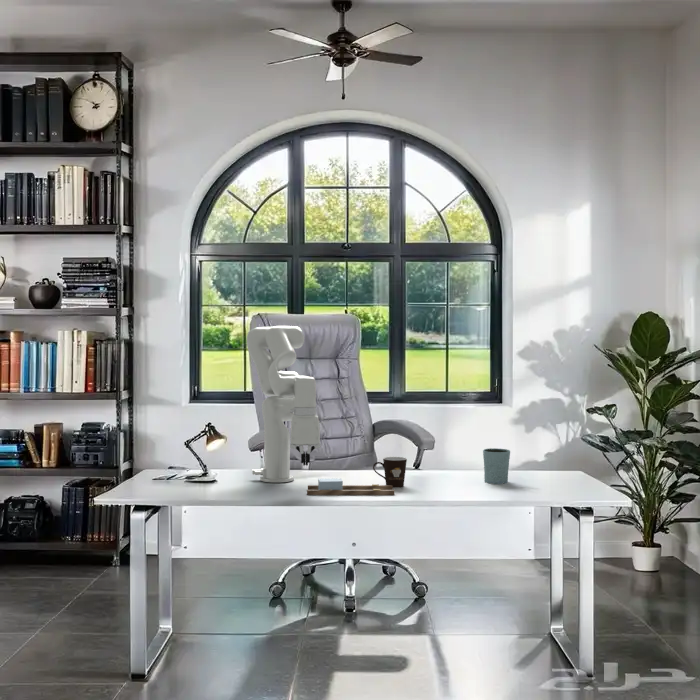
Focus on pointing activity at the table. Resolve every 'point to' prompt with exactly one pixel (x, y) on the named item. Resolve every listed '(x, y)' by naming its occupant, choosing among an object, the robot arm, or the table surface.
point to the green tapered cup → (496, 465)
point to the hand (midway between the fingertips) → (305, 465)
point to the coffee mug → (393, 470)
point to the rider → (330, 484)
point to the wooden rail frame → (353, 490)
